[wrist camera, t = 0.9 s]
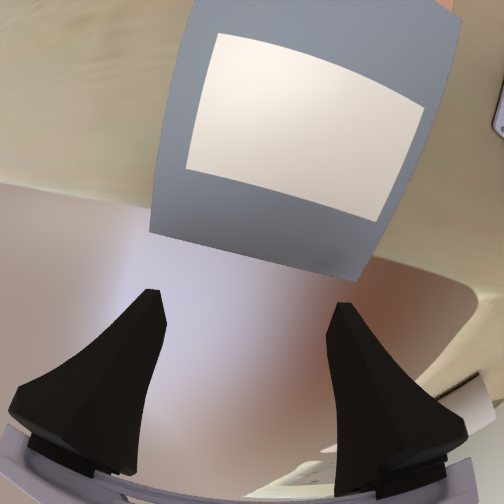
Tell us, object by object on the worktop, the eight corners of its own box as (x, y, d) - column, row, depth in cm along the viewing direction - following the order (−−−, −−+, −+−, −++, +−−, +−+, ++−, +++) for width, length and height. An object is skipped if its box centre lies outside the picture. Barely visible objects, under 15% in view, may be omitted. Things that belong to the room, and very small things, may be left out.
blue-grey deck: (427, 26, 10) (461, 20, 7) (342, 247, 20) (355, 282, 17) (232, -44, 9) (224, -72, 6) (169, 203, 19) (149, 232, 16)
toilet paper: (478, 367, 32) (496, 414, 24) (481, 381, 36) (496, 421, 28) (430, 397, 36) (443, 444, 28) (440, 406, 40) (451, 447, 32)
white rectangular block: (404, 103, 11) (424, 108, 9) (363, 204, 14) (375, 222, 12) (225, 40, 10) (218, 33, 8) (196, 156, 13) (185, 168, 11)
